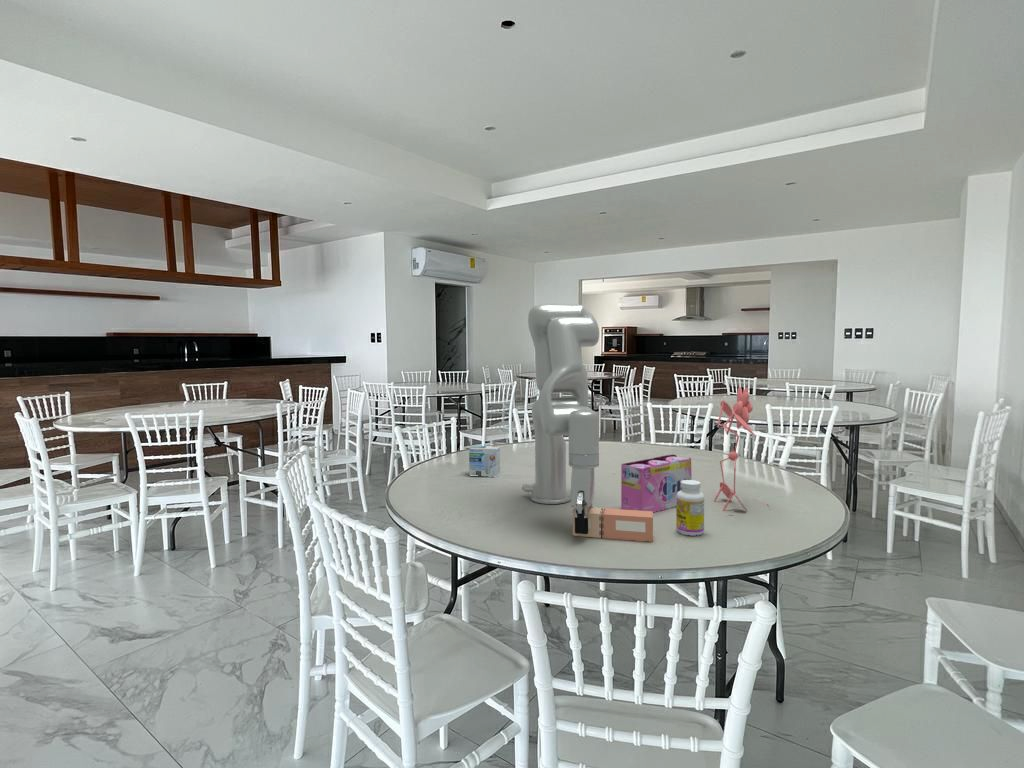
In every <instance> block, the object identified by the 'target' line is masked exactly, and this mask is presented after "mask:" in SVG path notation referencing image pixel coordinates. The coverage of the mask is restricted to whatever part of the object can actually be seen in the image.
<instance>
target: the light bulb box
mask: <svg viewBox="0 0 1024 768" xmlns="http://www.w3.org/2000/svg"><path fill="white" fill-rule="evenodd" d="M468 455H469V456H468V458H469V459H468V466H469V467H468V472H469V475H478V476H497V475H498V474H499V473H500V474H501V446H500V445H476V444H475V445H474V444H473V445H472V446H471V447H469V448H468ZM469 475H468V476H469Z"/></svg>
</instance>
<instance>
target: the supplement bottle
mask: <svg viewBox="0 0 1024 768" xmlns="http://www.w3.org/2000/svg"><path fill="white" fill-rule="evenodd" d="M681 488H682V490H680V491H679V492H678V493H677V506H676V520H675V521H676V524H675V525H676V528H675V529H676V531H677V532H678V533H679V534H681V535H684V536H688V535H690V537H694V536H696V535H697V536H701V535H703V534H704V533H705V494H704V493H703V492H702V491H700V489H701V482H700V481H698V480H695V479H692V480H683V481H681ZM697 536H696V537H697Z"/></svg>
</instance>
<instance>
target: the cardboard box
mask: <svg viewBox="0 0 1024 768" xmlns="http://www.w3.org/2000/svg"><path fill="white" fill-rule="evenodd" d="M601 539H608V540H619V539H620V540H619V541H631V540H635V541H634V542H644V541H649V542H648V543H653V542H654V541H653V539H654V513H653V511H638V510H622V509H621V508H620V509H618V508H605V507H604V508H603V513H602V536H601ZM650 541H651V542H650Z"/></svg>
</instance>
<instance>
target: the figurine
mask: <svg viewBox="0 0 1024 768" xmlns="http://www.w3.org/2000/svg"><path fill="white" fill-rule="evenodd" d="M736 393H737V394H736V402H735V403H734V404H733V405H732V407H731V405H729V403H728V402H726V401H725V400H724V399H723V400H722V401H720V411H719V416H718V418H717V419H718V420H717V426H718V427H723V428H724V432H725V434H726V435H727V436H728V435H729V433H730V432H731V433H733V434H734V435H735V436H736V441H735V446H734V451H730V452H729V453H728V454H727V455H728V457H727V458H725V459H724V458H723V459H722V460H720V461H719V464H720V471H721V475H722V477H721V478H722V481H720V482H719V491H718V492H717V494H716V495H715V497H714V499H713V502H716V501H717V500H718V498H719V496H720V494H721V492H722V493H723V495H725V496H726V498H727V502H726V503H725V504H724V506H723V508H722V510H723V511H725V510H726V509H727V507H728V505H729V503H730V501H731V500H732V497H733V496H735V498H736V499H737V501H738V502H739V503H740V505H741V506H742V508H743V509H744V510H745V512H748V510H747V509H746V507H745V505H744V504H743V503H742V501H741V500H740V499H739V498H738V497H739V496H738V495H736V471H737V470H736V467H737V460H738V458H739V454H738V452H736V451H737V447H738V443H739V439H740V435H739V434H738V433H737V432H735V431H734V430H732V428H731V427H732V424H733V421H734V419H735V421H736V428H737V430H739V429H740V428H741V426H742V427H743V429H744V430H747V432H749V433H750V434H751V435H752V436H754V435H755V433H754V431H753V430H752V429H751V427H750V425H749V421H750V413H751V412H753V407H754V406H753V404H752V402H751V401H750V400H749V399H750V392H749V388H748V387H745V388H744V389H742V387H741V386H738V388H737V392H736ZM723 412H724V413H725V415H727V416H728V417H729V418H728V419H727V421H726V422H725V423H723V424H721V420H722V419H721V418H722V413H723ZM728 423H729V425H728ZM727 425H728V426H727ZM727 460H730V461H733V462H734V466H733V488H730V487H729V486H728V485H727V483H725V478H724V470H723V464H722V462H724V461H727ZM760 503H761V504H763V502H762V501H760ZM764 505H766V506H767V507H768V508H769V510H771V508H770V507H769V506H770V505H769V504H765V503H764ZM729 516H732V517H733V516H734V515H733V514H729Z"/></svg>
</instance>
